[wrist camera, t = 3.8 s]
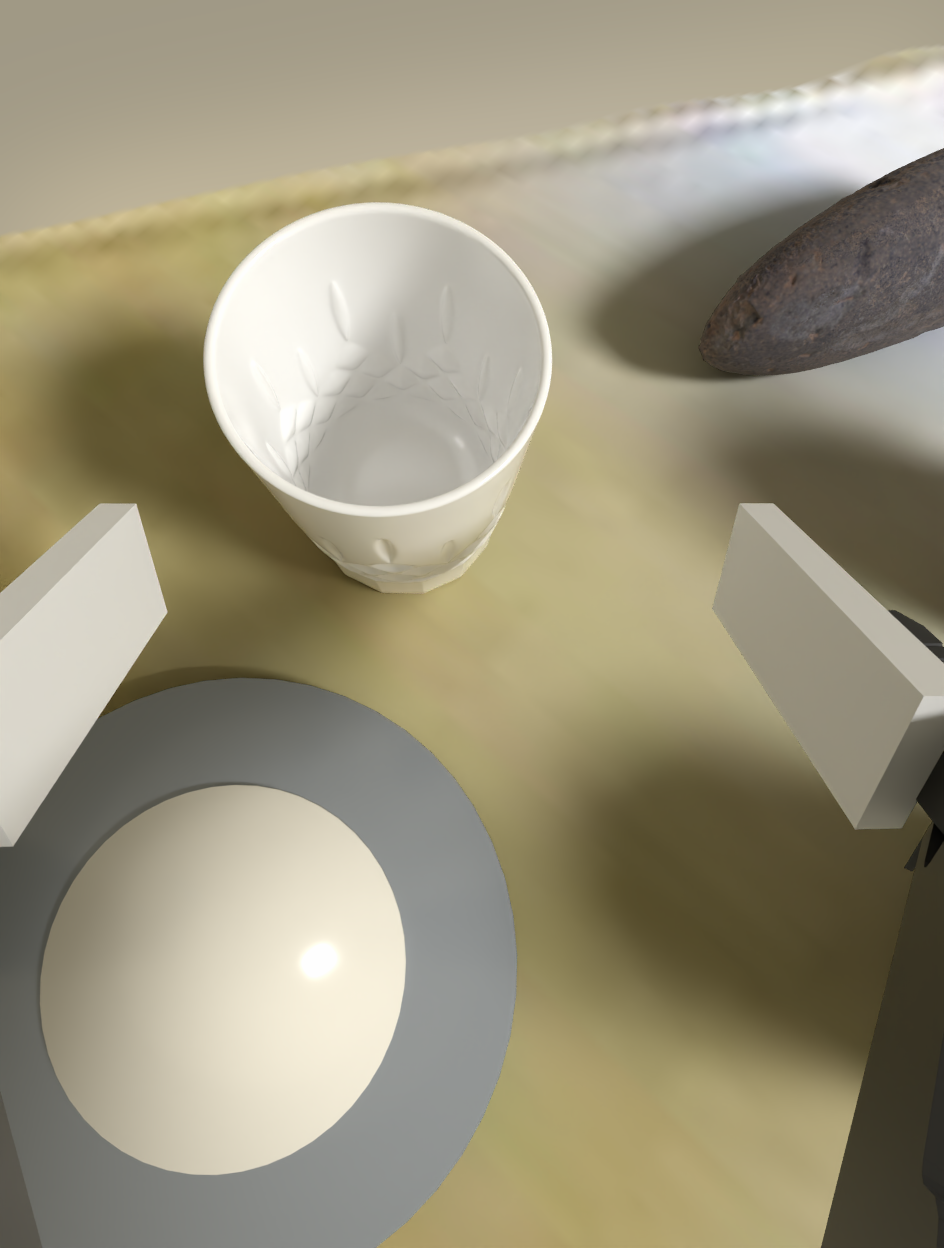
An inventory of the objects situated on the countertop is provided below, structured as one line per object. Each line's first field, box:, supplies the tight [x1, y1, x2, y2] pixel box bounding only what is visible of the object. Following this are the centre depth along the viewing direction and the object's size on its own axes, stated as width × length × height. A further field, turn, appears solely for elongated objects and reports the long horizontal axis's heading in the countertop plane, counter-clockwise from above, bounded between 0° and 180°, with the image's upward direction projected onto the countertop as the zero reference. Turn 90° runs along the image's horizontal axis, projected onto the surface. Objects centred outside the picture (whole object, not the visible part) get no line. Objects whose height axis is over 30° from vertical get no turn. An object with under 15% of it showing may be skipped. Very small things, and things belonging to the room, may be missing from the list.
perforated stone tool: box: [699, 148, 944, 375], centre depth 23 cm, size 15×5×7 cm, turn 112°
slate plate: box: [0, 678, 517, 1248], centre depth 21 cm, size 18×18×2 cm
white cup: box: [203, 202, 552, 594], centre depth 20 cm, size 8×8×10 cm
